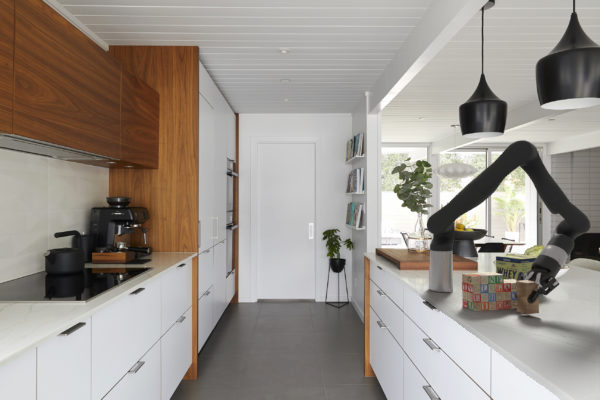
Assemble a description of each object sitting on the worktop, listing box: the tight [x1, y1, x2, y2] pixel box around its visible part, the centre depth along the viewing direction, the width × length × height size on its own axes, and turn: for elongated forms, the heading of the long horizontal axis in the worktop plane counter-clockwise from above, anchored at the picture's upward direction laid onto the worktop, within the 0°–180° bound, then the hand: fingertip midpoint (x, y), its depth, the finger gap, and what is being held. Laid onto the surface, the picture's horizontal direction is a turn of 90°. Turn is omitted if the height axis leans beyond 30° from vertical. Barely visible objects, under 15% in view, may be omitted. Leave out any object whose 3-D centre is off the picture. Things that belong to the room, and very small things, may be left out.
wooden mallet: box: [506, 280, 540, 315], centre depth 129 cm, size 10×5×10 cm, turn 19°
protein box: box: [495, 253, 538, 280], centre depth 159 cm, size 10×16×16 cm
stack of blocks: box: [461, 271, 517, 312], centre depth 138 cm, size 21×6×12 cm, turn 101°
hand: (523, 300), depth 125 cm, fingers closed on wooden mallet, 4 cm apart
